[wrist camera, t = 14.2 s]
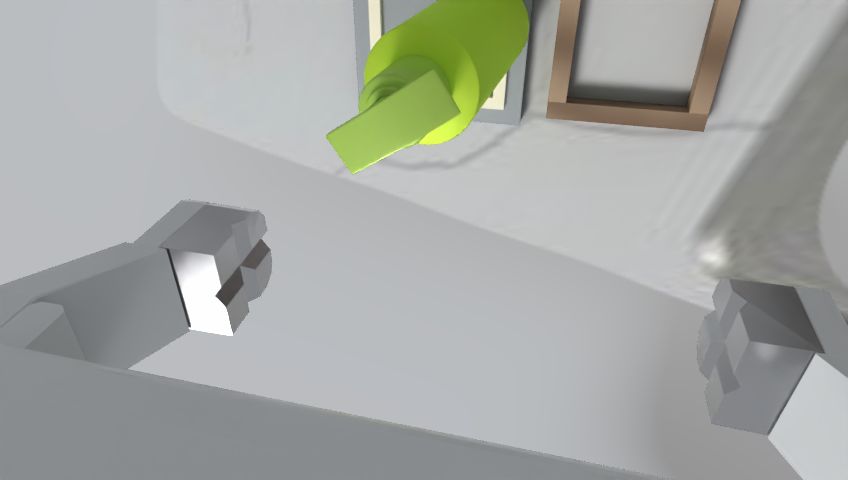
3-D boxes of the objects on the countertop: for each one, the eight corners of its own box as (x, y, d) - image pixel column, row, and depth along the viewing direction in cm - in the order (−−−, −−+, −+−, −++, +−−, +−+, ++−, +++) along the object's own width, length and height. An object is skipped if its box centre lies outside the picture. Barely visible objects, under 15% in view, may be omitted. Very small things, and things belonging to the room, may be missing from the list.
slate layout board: (353, -87, 38) (346, -86, 36) (541, -83, 35) (539, -81, 34) (363, 106, 45) (357, 113, 44) (520, 120, 43) (518, 127, 41)
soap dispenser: (560, 35, 37) (486, 165, 21) (470, 86, 41) (350, 229, 25) (514, -52, 35) (397, 19, 19) (425, 10, 39) (265, 112, 23)
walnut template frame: (569, -67, 36) (569, -65, 35) (752, -62, 34) (757, -59, 33) (546, 112, 42) (546, 118, 41) (700, 124, 40) (703, 131, 39)
